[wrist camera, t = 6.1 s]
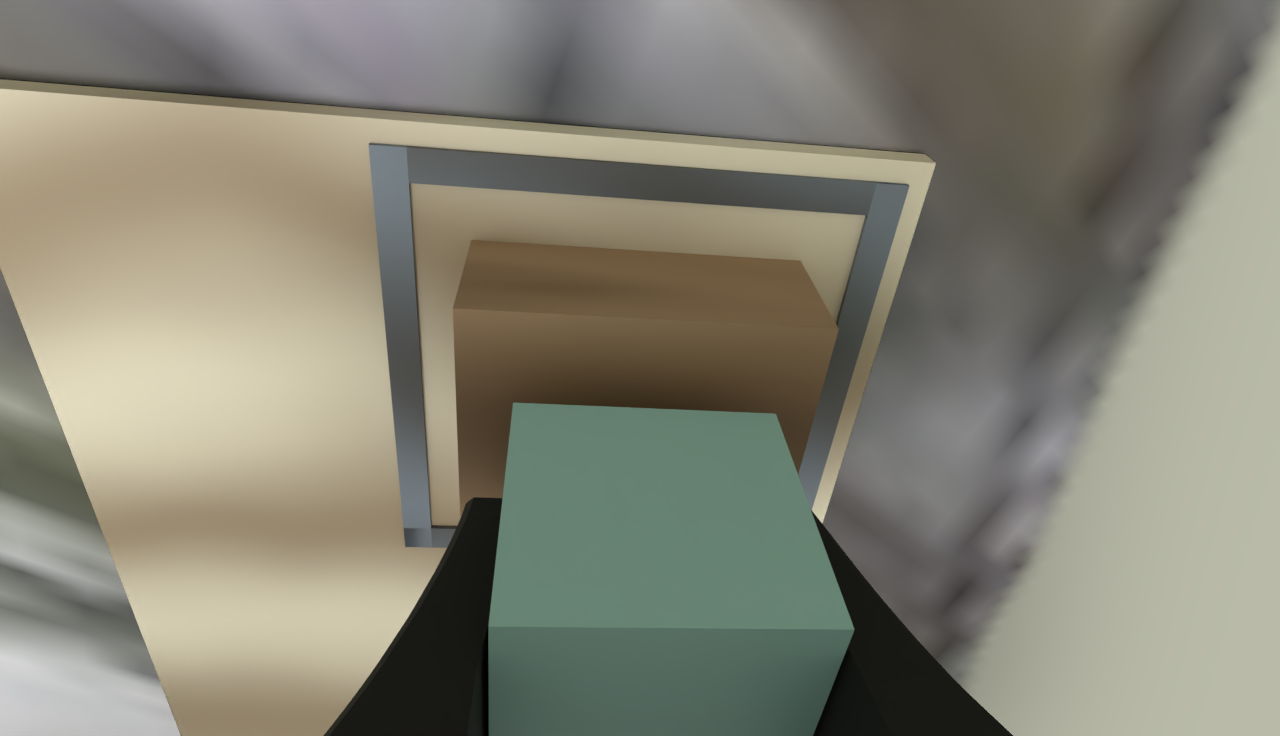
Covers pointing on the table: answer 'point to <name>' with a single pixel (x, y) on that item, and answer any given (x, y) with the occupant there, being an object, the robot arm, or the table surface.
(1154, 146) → the table surface
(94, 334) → the build board
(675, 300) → the walnut slab
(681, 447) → the teal block
